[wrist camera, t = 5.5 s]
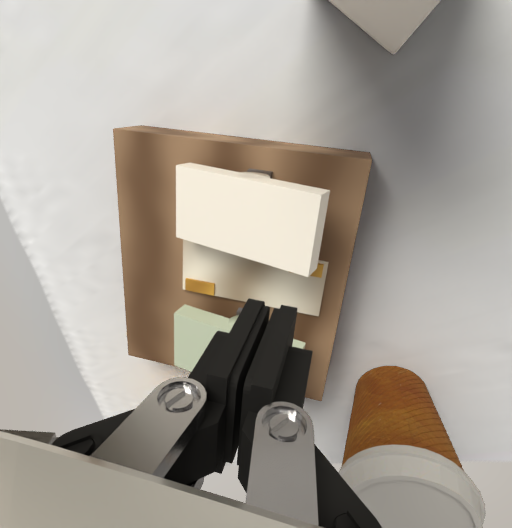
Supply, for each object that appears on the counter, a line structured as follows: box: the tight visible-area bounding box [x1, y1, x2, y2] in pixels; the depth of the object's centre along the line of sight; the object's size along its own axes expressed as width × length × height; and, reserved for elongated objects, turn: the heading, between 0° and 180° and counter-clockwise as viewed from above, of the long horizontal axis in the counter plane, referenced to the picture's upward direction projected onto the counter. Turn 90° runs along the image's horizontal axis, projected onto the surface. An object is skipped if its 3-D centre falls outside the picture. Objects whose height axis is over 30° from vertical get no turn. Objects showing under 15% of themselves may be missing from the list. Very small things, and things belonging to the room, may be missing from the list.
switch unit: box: [113, 125, 372, 401], centre depth 31 cm, size 18×20×5 cm
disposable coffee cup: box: [338, 366, 485, 528], centre depth 29 cm, size 10×10×12 cm
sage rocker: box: [174, 305, 306, 372], centre depth 29 cm, size 10×5×2 cm, turn 84°
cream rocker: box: [176, 163, 330, 277], centre depth 24 cm, size 10×5×2 cm, turn 84°
